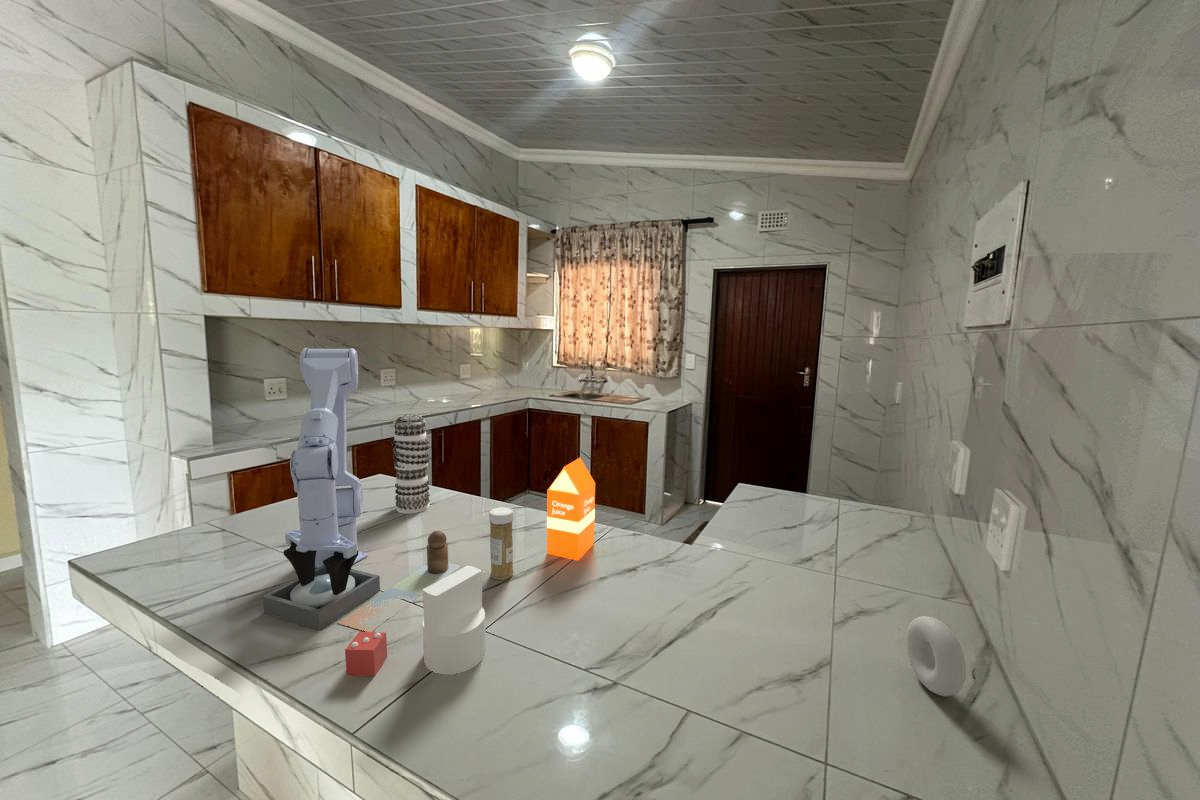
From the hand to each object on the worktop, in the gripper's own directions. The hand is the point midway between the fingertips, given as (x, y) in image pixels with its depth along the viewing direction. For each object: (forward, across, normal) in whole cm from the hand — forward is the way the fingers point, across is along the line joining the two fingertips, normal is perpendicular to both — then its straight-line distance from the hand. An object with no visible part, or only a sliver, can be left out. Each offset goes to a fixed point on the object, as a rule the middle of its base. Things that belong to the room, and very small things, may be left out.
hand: (323, 587), depth 87 cm
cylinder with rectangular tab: (+3, +30, -3) cm, 30 cm away
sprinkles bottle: (+3, +24, +20) cm, 31 cm away
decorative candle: (+3, -17, +42) cm, 45 cm away
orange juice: (+3, +32, +36) cm, 48 cm away
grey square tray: (+3, 0, 0) cm, 3 cm away
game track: (+3, +11, +8) cm, 14 cm away
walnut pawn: (+2, +11, +17) cm, 20 cm away
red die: (+3, +20, -10) cm, 23 cm away
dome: (+2, 0, 0) cm, 2 cm away
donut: (+3, +96, +16) cm, 97 cm away
